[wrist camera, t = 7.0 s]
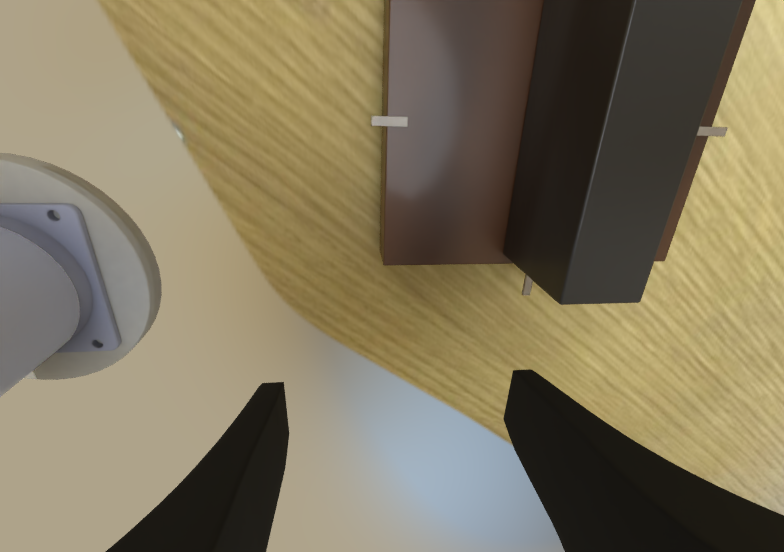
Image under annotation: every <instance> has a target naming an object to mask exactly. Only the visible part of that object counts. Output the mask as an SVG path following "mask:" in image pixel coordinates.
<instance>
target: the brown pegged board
mask: <svg viewBox="0 0 784 552" xmlns="http://www.w3.org/2000/svg"><path fill="white" fill-rule="evenodd" d="M755 1H756V0H743V1H742V4H741V7H740V10H739V13H738V16H737V19H736V22H735V25H734V27H733V30H732V33H731V36H730V39H729V42H728V45H727V48H726V51H725V54H724V57H723V60H722V63H721V66H720V69H719V72H718V74H717V77H716V80H715V83H714V86H713V89H712V92H711V95H710V98H709V101H708V104H707V107H706V110H705V113H704V116H703V119H702V122H701V124H700V127H699V130H698V133H697V136H696V139H695V142H694V145H693V148H692V151H691V154H690V157H689V160H688V163H687V166H686V169H685V172H684V174H683V177H682V180H681V183H680V186H679V189H678V192H677V195H676V198H675V201H674V204H673V207H672V210H671V213H670V216H669V219H668V221H667V224H666V227H665V230H664V233H663V236H662V239H661V242H660V245H659V248H658V251H657V254H656V257H655V260H654V261H665V259H666V256H667V253H668V250H669V247H670V244H671V241H672V238H673V236H674V233H675V230H676V227H677V224H678V221H679V218H680V216H681V213H682V210H683V207H684V204H685V201H686V198H687V196H688V193H689V190H690V187H691V184H692V181H693V178H694V176H695V173H696V170H697V167H698V164H699V161H700V158H701V156H702V153H703V150H704V147H705V144H706V141H707V138H708V136H725V134H726V131H727V127H712V124H713V121H714V118H715V115H716V113H717V110H718V107H719V104H720V101H721V98H722V95H723V93H724V90H725V87H726V84H727V81H728V78H729V75H730V73H731V70H732V67H733V64H734V61H735V58H736V55H737V52H738V50H739V47H740V44H741V41H742V38H743V35H744V32H745V30H746V27H747V24H748V21H749V18H750V15H751V12H752V10H753V7H754V4H755ZM543 6H544V0H384V40H383V95H382V116H371V126H382V150H381V205H380V253H381V257H382V261H383V265H441V264H507V263H513V262H511V261H510V260H509V259H508V258H507V257H506V256H505V255H504V254H503V250H504V244H505V238H506V232H507V226H508V220H509V214H510V208H511V201H512V195H513V189H514V183H515V177H516V171H517V165H518V159H519V152H520V146H521V140H522V134H523V128H524V122H525V116H526V110H527V104H528V97H529V91H530V85H531V79H532V73H533V67H534V61H535V55H536V48H537V42H538V36H539V30H540V24H541V18H542V12H543ZM532 282H533V280H532V279H531V278H530V277H528V276H527V275H526V274H525V279H524V284H523V290H522V295H530V292H531V287H532Z"/></svg>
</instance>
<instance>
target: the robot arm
mask: <svg viewBox="0 0 784 552" xmlns="http://www.w3.org/2000/svg"><path fill="white" fill-rule="evenodd" d="M53 211H56V212H58V213H59V215H60V219H58V218H57V217H55V215H54V214H53ZM97 340H100V341H101V342H102V343H103V344H101V343H99V342H98V341H97ZM120 344H121V337H120V334H119V331H118V328H117V324H116V321H115V318H114V315H113V311H112V308H111V305H110V302H109V298H108V295H107V292H106V289H105V286H104V282H103V279H102V276H101V273H100V269H99V266H98V263H97V260H96V257H95V253H94V250H93V247H92V244H91V240H90V237H89V234H88V231H87V228H86V224H85V221H84V218H83V215H82V212H81V211H80V209H79V208H78V207H77V206H75V205H73V204H68V203H0V397H1V396H2V395H3V394H5V393H6V392H7V391H8V390H10V389H11V388H12V387H13V386H14V385H15V384H17V383H18V382H19V381H20V380H22V379H23V378H24V377H25V376H27V375H28V374H29V373H30V372H32V371H33V370H34V369H35V368H36V367H38V366H39V365H40V364H41V363H43V362H44V361H45V360H46V359H47V358H49V357H50V356H51V355H52V354H53V353H64V352H90V351H112V350H115V349H116V348H118V347H119V346H120ZM504 422H505V425H506V427H507V430H508V433H509V436H510V439H511V441H512V444H513V446H514V449H515V451H516V453H517V455H518V457H519V459H520V461H521V463H522V465H523V467H524V469H525V471H526V473H527V475H528V477H529V479H530V481H531V482H532V485H533V487H534V488H535V490H536V492H537V494H538V496H539V498H540V500H541V502H542V504H543V506H544V508H545V510H546V511H547V514H548V516H549V517H550V519H551V521H552V523H553V525H554V527H555V530H556V532H557V534H558V536H559V538H560V540H561V543H562V546H563V548H564V550H565V552H784V516H783V515H781V514H779V513H776V512H774V511H772V510H769V509H767V508H765V507H762V506H760V505H758V504H756V503H753V502H751V501H749V500H746V499H744V498H742V497H740V496H737V495H735V494H733V493H731V492H729V491H727V490H725V489H722V488H720V487H718V486H716V485H714V484H712V483H710V482H708V481H706V480H704V479H702V478H700V477H698V476H696V475H694V474H692V473H690V472H688V471H686V470H684V469H683V468H681V467H679V466H677V465H675V464H673V463H671V462H669V461H668V460H666V459H664V458H662V457H661V456H659V455H657V454H656V453H654V452H652V451H650V450H649V449H647V448H645V447H643V446H642V445H640V444H638V443H637V442H635V441H633V440H632V439H630V438H629V437H627V436H626V435H624V434H622V433H621V432H619V431H618V430H616V429H615V428H613V427H612V426H610V425H609V424H607V423H606V422H604V421H603V420H601V419H600V418H598V417H597V416H595V415H594V414H593V413H591V412H590V411H588V410H587V409H586V408H584V407H583V406H581V405H580V404H579V403H577V402H576V401H574V400H573V399H572V398H570V397H569V396H568V395H566V394H565V393H563V392H562V391H561V390H559V389H558V388H557V387H555V386H554V385H553V384H551V383H550V382H549V381H547V380H546V379H544V378H543V377H542V376H540V375H539V374H537V373H536V372H534V371H533V370H513V374H512V379H511V384H510V389H509V394H508V399H507V404H506V409H505V415H504ZM288 439H289V427H288V419H287V409H286V401H285V391H284V382H277V383H262V384H261V385H260V386H259V388H258V389H257V390H256V392H255V393H254V395H253V396H252V398H251V399H250V400H249V402H248V403H247V404H246V406H245V407H244V409H243V410H242V411H241V413H240V414H239V415H238V416H237V418H236V419H235V420H234V422H233V423H232V424H231V426H230V427H229V428H228V429H227V430H226V432H225V433H224V434H223V435H222V437H221V438H220V439H219V441H218V442H217V443H216V444H215V445H214V446H213V447H212V449H211V450H210V451H209V452H208V453H207V454H206V455H205V457H204V458H203V459H202V460H201V461H200V462H199V463H198V465H197V466H196V467H195V468H194V469H193V470H192V471H191V472H190V473H189V474H188V475H187V477H186V478H185V479H184V480H183V481H182V482H181V483H180V484H179V485H178V486H177V487H176V488H175V489H174V490H173V491H172V492H171V493H170V494H169V495H168V496H167V497H166V498H165V499H164V500H163V501H162V502H161V503H160V504H159V505H158V506H157V507H155V508H154V509H153V510H152V511H151V512H150V513H149V514H148V515H147V516H146V517H145V518H143V519H142V520H141V521H140V522H139V523H138V524H137V525H136V526H135V527H134V528H133V529H131V530H130V531H129V532H128V533H127V534H126V535H125V536H124V537H122V538H121V539H120V540H119V541H118V542H117V543H115V544H114V545H113V546H112V547H111V548H109V549H108V550H107V551H106V552H266V549H267V545H268V540H269V536H270V532H271V527H272V523H273V519H274V514H275V510H276V506H277V501H278V497H279V493H280V488H281V483H282V480H283V475H284V471H285V465H286V456H287V448H288Z"/></svg>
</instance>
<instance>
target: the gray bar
mask: <svg viewBox="0 0 784 552" xmlns="http://www.w3.org/2000/svg"><path fill="white" fill-rule="evenodd" d="M742 1H743V0H544V6H543V12H542V18H541V24H540V30H539V36H538V42H537V48H536V55H535V61H534V67H533V73H532V79H531V85H530V91H529V97H528V104H527V110H526V116H525V122H524V128H523V134H522V140H521V146H520V152H519V159H518V165H517V171H516V177H515V183H514V189H513V195H512V201H511V208H510V214H509V220H508V226H507V232H506V238H505V244H504V250H503V254H504V255H505V256H506V257H507V258H508V259H509V260H510V261H511V262H513V263H514V264H515V265H516V266H517V267H518V268H519V269H520V270H522V271H523V272H524V273H525V274H526V275H527V276H528V277H530V278H531V279H532V280H533V281H534V282H535V283H536V284H537V285H539V286H540V287H541V288H542V289H543V290H544V291H545V292H546V293H548V294H549V295H550V296H551V297H552V298H553V299H554V300H555V301H557V302H558V303H559V304H561V305H564V304H602V303H639V302H640V301H641V298H642V295H643V292H644V289H645V286H646V283H647V280H648V277H649V274H650V271H651V269H652V266H653V263H654V260H655V257H656V254H657V251H658V248H659V245H660V242H661V239H662V236H663V233H664V230H665V227H666V224H667V221H668V219H669V216H670V213H671V210H672V207H673V204H674V201H675V198H676V195H677V192H678V189H679V186H680V183H681V180H682V177H683V174H684V172H685V169H686V166H687V163H688V160H689V157H690V154H691V151H692V148H693V145H694V142H695V139H696V136H697V133H698V130H699V127H700V124H701V122H702V119H703V116H704V113H705V110H706V107H707V104H708V101H709V98H710V95H711V92H712V89H713V86H714V83H715V80H716V77H717V74H718V72H719V69H720V66H721V63H722V60H723V57H724V54H725V51H726V48H727V45H728V42H729V39H730V36H731V33H732V30H733V27H734V25H735V22H736V19H737V16H738V13H739V10H740V7H741V4H742Z"/></svg>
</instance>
